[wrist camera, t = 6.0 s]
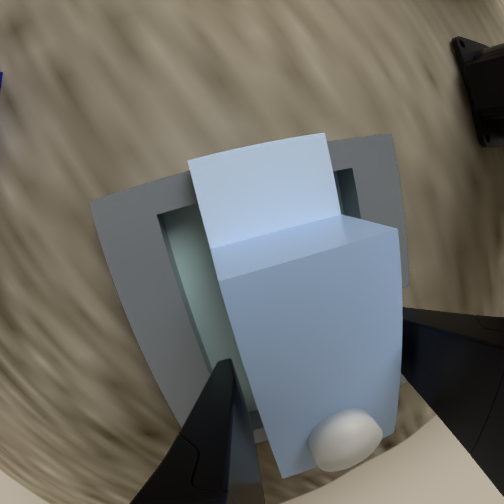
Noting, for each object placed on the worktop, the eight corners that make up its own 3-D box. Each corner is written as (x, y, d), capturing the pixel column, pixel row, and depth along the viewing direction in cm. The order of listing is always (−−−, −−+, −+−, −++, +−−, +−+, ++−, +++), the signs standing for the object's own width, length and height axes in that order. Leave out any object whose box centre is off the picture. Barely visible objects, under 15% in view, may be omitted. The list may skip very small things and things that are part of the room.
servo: (300, 141, 10) (400, 108, 5) (340, 398, 13) (397, 479, 8) (189, 165, 10) (181, 141, 4) (264, 425, 13) (298, 521, 7)
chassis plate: (371, 137, 11) (391, 133, 9) (392, 369, 14) (406, 383, 12) (101, 199, 10) (88, 202, 8) (197, 436, 12) (199, 456, 11)
